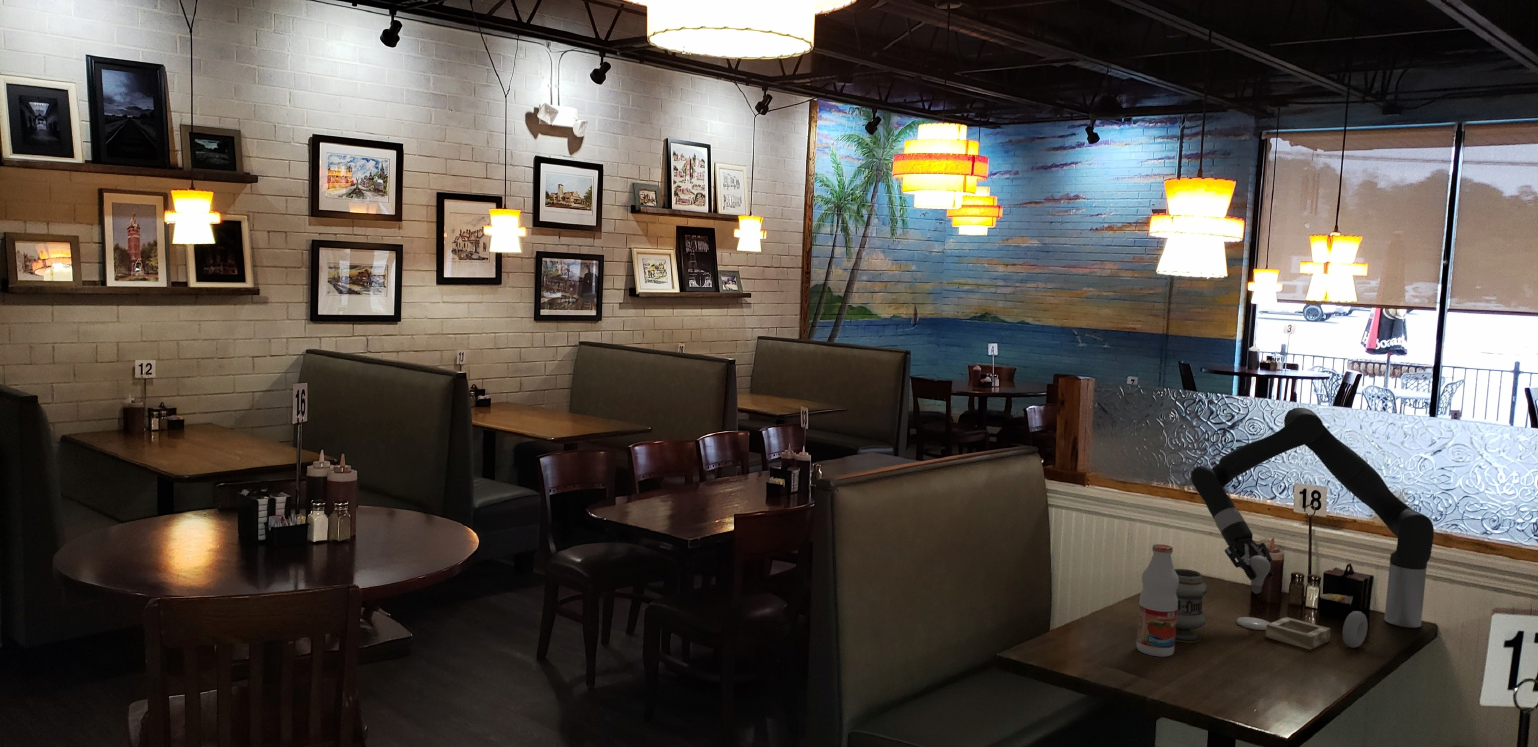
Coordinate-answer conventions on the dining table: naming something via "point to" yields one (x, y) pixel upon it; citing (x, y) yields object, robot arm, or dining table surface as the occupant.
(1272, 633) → the pocket
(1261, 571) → the lightbulb
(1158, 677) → the dining table surface
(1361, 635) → the donut
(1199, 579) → the apothecary jar
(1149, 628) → the fruit juice
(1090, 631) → the dining table surface
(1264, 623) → the white round part
